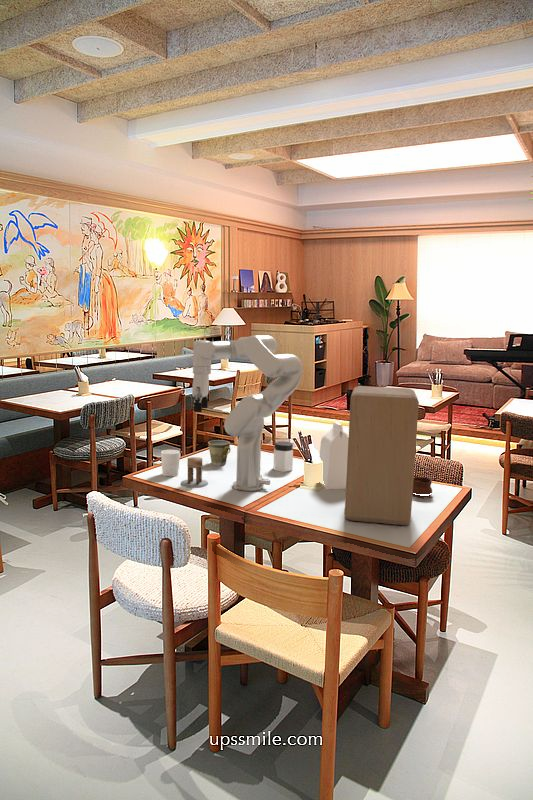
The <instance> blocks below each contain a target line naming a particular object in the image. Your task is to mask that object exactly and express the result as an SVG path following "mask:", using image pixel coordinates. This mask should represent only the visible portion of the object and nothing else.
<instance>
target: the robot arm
mask: <svg viewBox="0 0 533 800" xmlns="http://www.w3.org/2000/svg"><path fill="white" fill-rule="evenodd" d="M192 346H193V349H192V350H193V353H192V374H193V380H192V392H191V393H192V394H191V395H192V397H193V412H194V413H202V412H203V409H208V407H209V405H208V403H209V401H208V399H209V397H208V394H209V390H210V389H209V388H210V382H209V381H210V376H209V375H211V373H212V371H211V370H212V361H215V360H228V359H229V360H231V359H242V360H246V359H248V360H249V361H250V362H251V363H252V364H253V365H254V366H255V367H256V368H257V369H258V370H259V372H261V373H262V374H264V376H265V377H268V378H271V379H274V380H272V381H271V382H270V383H269V384H268V385H267V387H266V388H265V389H263V390H262V391H261V392H258V393H254V394H250V395H246V396H245V397H243V398H242V399H241V400H240V401H238V403H237V404H236V405H235V407H233V409H232V410H231V411H230V412H229V413H228V414H227V416H226V417H225V419H224V424H223V427H224V431H225V432H226V433H227V435H229V436H231V437H233V438H234V437H236V438H238V439H237V445H236V446H237V448H236V480H235V481H234V482H232V484H231V485H232V487H233V489H235V490H238V491H241V492H242V491H243V492H254V491H260V490H262V489H263V488H264V485H266V486H270V485H271V480H269V478H263V475H262V474H261V457H262V456H261V453H262V452H261V450H262V437H263V431H264V427H265V419H264V418H267V417H270V416H272V415H273V414H274V413H275V412H276V411H277V410H278V409H279V408H280V407H281V405H282V404H283V403H284V402H285V401H286V400H287V399H288V398H289V397H290V396H291V395H292V393H294V391H296V390H297V388H298V387H299V385H300V383H301V381H302V379H303V375H304V368H303V362H302V361H301V359H300V358H299V356H297V355H295V354H291V353H282V354H280V353H279V354H275V353H276V351H277V350H278V343H277V340H276V339H275V338H274V337H273V336H271V335H266V334H263V335H262V334H260V335H259V334H256V335H250V336H244V337H243V336H241V337H239V338H238V339H235V340H234V339H231V340H216V341H210V340H206V339H197V340H195V341H194V342H193V345H192Z"/></svg>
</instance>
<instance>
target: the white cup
mask: <svg viewBox="0 0 533 800" xmlns="http://www.w3.org/2000/svg"><path fill="white" fill-rule="evenodd" d="M160 454H161V455H160V456H161V457H160V458H161V469H162V471H161V472H162V476H164V477H176V476H178V475H179V469H180V457H181V456H180V455H181V452H180V450H177V449H165V450H164V449H163V450H161V451H160Z"/></svg>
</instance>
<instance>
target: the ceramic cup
mask: <svg viewBox="0 0 533 800" xmlns="http://www.w3.org/2000/svg"><path fill="white" fill-rule="evenodd" d="M207 445H208V451H209V456H210V457H209V458H210V461H211V462H210V463H211V464H212V465H214V466H224V465H226V464H227V458H228V454H229V453H230V452H231V442H230V441H228V440H223V439H215V440H210V441H208V442H207Z"/></svg>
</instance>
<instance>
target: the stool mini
mask: <svg viewBox="0 0 533 800" xmlns="http://www.w3.org/2000/svg"><path fill="white" fill-rule="evenodd" d="M194 469H195V471H196V472H195V479H196V485H199V482H202V480H203V479H202V478H203V458H202V457H198V456H191V457H188V458H187V479H188V484H191V482H193V479H194Z"/></svg>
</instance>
